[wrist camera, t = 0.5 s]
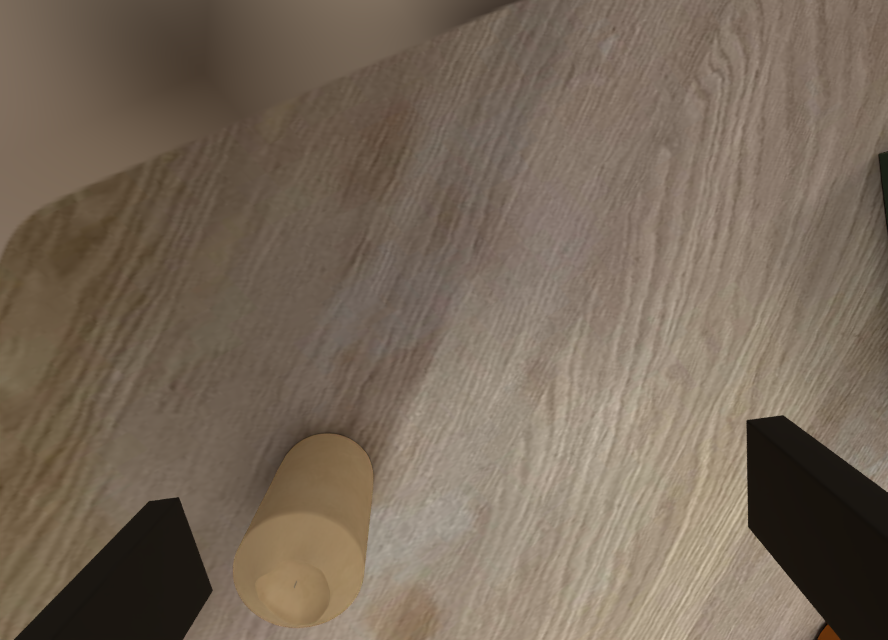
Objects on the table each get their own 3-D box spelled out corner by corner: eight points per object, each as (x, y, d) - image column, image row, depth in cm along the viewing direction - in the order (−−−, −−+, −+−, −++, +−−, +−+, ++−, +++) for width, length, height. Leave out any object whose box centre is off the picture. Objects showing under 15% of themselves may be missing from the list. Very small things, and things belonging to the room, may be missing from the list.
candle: (261, 485, 29) (192, 613, 20) (316, 413, 29) (273, 508, 19) (338, 533, 30) (308, 678, 21) (392, 465, 30) (389, 580, 20)
